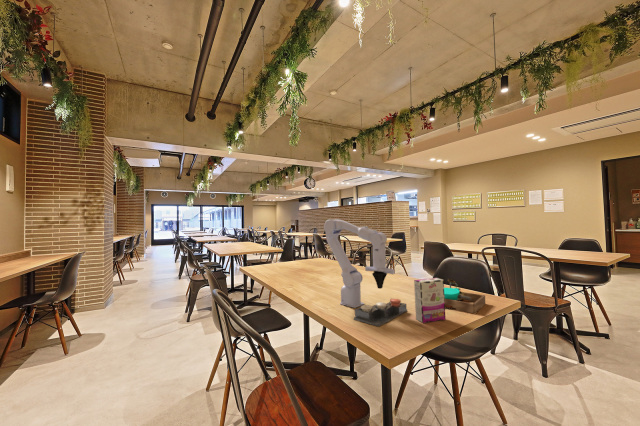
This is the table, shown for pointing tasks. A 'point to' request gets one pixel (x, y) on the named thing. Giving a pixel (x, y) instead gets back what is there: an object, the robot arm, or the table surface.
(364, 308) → the cream mushroom knob
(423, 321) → the candy bar box
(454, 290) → the contraption on wooden base
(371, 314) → the panel
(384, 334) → the table surface
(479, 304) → the brown wooden tray
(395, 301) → the plug red
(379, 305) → the plug cream mid
